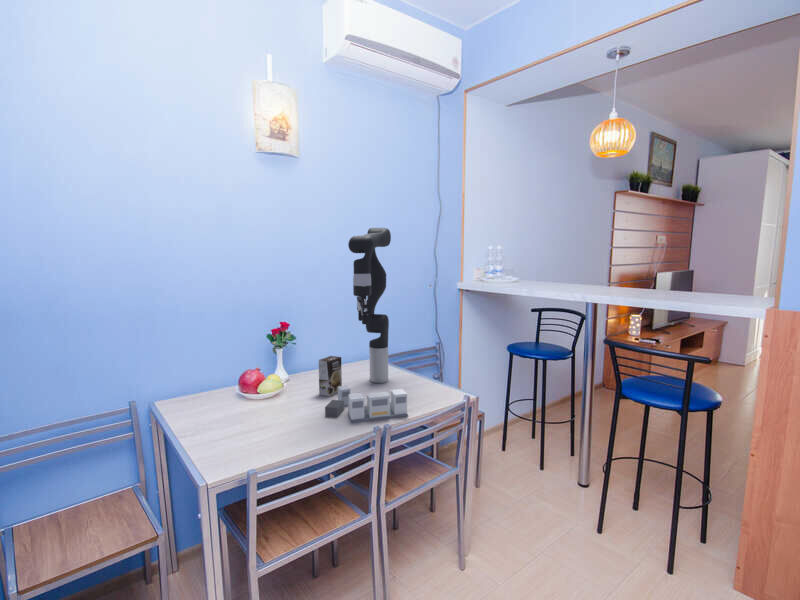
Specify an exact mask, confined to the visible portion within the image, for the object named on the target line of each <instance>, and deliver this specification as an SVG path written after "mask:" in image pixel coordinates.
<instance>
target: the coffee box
mask: <svg viewBox="0 0 800 600" xmlns="http://www.w3.org/2000/svg"><path fill="white" fill-rule="evenodd" d="M342 374H343V373H342V357H341V356H335V355H334V356H333V355H330V356H327V357H324V358H321V359H318V389H319V390H318V394H319V395H321V396H325V397H333V396H334V395H336V394H338V387H339V386H343V379H342V378H343V376H342Z"/></svg>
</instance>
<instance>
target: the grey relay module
mask: <svg viewBox="0 0 800 600" xmlns="http://www.w3.org/2000/svg"><path fill="white" fill-rule="evenodd" d="M349 394H351V388H350V387H349V386H348V385H345V384H344V385H342V386H339V387H338V393H337V400H341V401H344V407H345V406H347V407H348V406H349Z"/></svg>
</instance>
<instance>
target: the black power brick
mask: <svg viewBox="0 0 800 600" xmlns="http://www.w3.org/2000/svg"><path fill="white" fill-rule="evenodd" d="M344 410H345V406H344V401H341V400H338V399H331V400H330V401H329V402H328V403H327V404H326V405H325V406H324V416H325V417H327V418H328V417H330V418H339V416H340V415H341V414H342V413H343V411H344Z"/></svg>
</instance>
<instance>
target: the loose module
mask: <svg viewBox="0 0 800 600" xmlns="http://www.w3.org/2000/svg"><path fill="white" fill-rule="evenodd" d="M390 402H391V394H389V392H387V391H380V392H369V393H367V394H366V405H367V414H368V416H369V418H375V417H384V416H390Z"/></svg>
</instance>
